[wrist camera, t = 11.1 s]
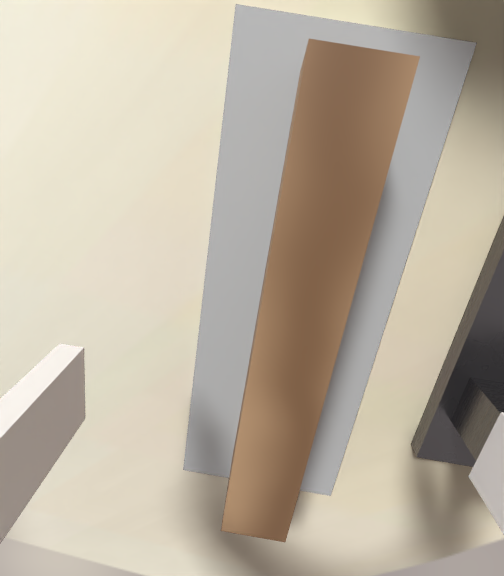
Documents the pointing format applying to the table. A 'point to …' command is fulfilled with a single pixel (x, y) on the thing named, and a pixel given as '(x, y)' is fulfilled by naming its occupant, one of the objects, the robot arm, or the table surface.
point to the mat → (261, 211)
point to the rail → (312, 270)
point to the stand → (469, 374)
